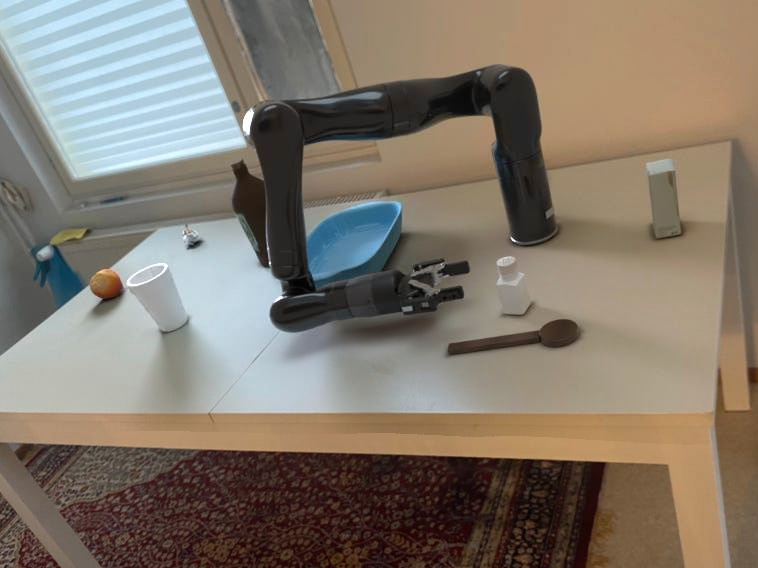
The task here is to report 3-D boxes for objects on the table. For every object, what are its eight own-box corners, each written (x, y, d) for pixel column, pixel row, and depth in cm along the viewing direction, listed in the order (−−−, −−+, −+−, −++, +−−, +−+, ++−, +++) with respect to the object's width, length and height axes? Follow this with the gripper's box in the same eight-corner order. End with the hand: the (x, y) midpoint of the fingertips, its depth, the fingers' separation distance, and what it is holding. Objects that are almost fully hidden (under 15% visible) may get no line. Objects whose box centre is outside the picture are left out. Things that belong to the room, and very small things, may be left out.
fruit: (134, 278, 188) (111, 263, 182) (125, 304, 186) (101, 291, 179) (114, 279, 192) (90, 265, 186) (105, 305, 190) (80, 292, 183)
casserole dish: (334, 234, 174) (324, 208, 170) (418, 219, 166) (410, 191, 162) (280, 316, 146) (267, 286, 142) (378, 302, 138) (367, 270, 134)
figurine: (192, 247, 199) (182, 228, 196) (182, 247, 202) (172, 228, 199) (204, 238, 203) (195, 219, 199) (194, 238, 205) (185, 220, 202)
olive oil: (292, 242, 179) (252, 148, 166) (303, 254, 170) (262, 156, 157) (254, 259, 177) (211, 166, 164) (263, 272, 168) (218, 174, 155)
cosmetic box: (681, 235, 124) (676, 170, 117) (655, 239, 125) (648, 175, 119) (677, 219, 129) (671, 156, 122) (652, 224, 130) (645, 161, 124)
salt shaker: (523, 316, 118) (511, 267, 113) (502, 315, 120) (489, 267, 115) (533, 303, 120) (521, 254, 115) (512, 302, 123) (500, 254, 118)
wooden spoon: (447, 362, 114) (445, 356, 113) (451, 341, 118) (449, 335, 118) (579, 344, 107) (578, 337, 106) (578, 322, 112) (577, 316, 111)
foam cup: (158, 340, 154) (129, 290, 147) (152, 326, 162) (123, 278, 155) (198, 320, 156) (171, 270, 149) (190, 307, 164) (163, 259, 157)
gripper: (361, 297, 116) (455, 280, 111) (379, 256, 127) (465, 239, 122) (375, 334, 120) (467, 320, 115) (391, 291, 131) (475, 276, 126)
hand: (466, 278), depth 119 cm, fingers open, 8 cm apart
